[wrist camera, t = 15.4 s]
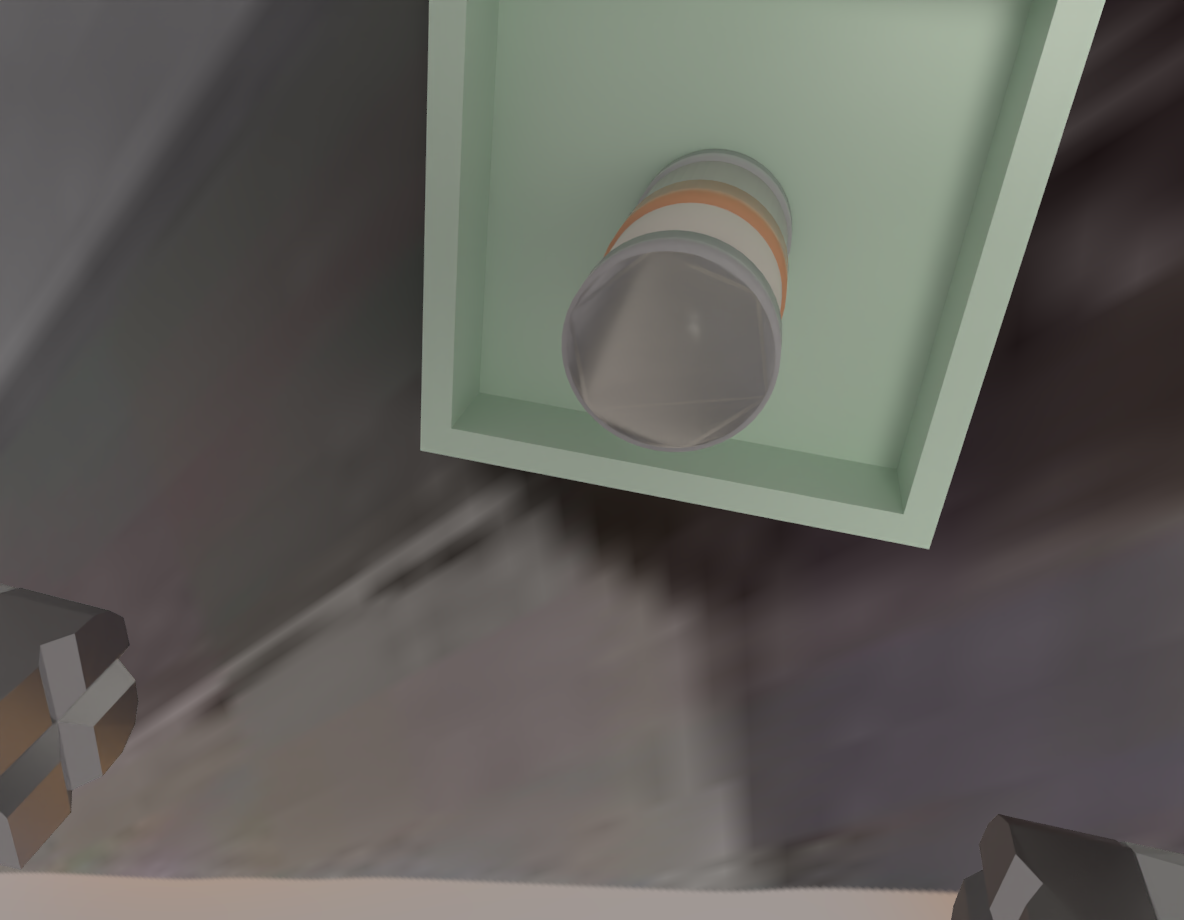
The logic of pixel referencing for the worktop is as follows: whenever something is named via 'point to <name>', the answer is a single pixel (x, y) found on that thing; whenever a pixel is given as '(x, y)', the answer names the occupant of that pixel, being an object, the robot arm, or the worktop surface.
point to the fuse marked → (685, 307)
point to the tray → (819, 226)
